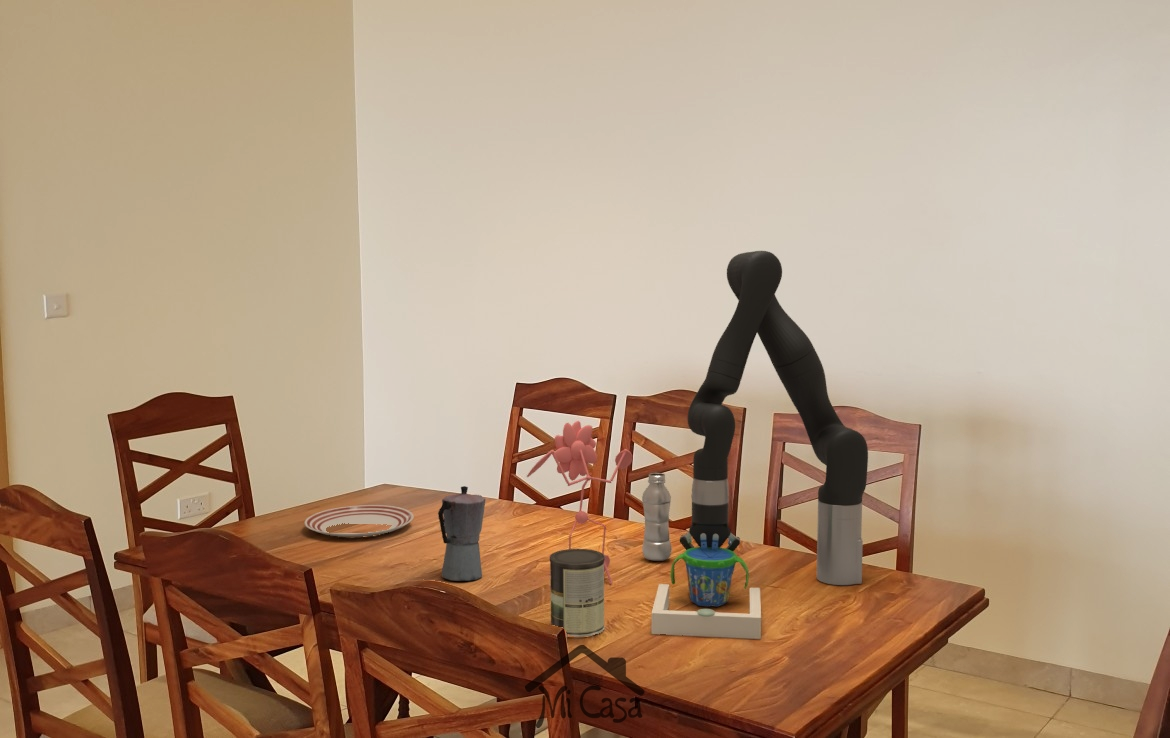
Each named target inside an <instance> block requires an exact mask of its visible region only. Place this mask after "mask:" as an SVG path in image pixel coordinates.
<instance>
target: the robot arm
mask: <svg viewBox="0 0 1170 738" xmlns="http://www.w3.org/2000/svg"><path fill="white" fill-rule="evenodd" d="M780 261H781V260H780V259H779V258H778V257H777V255H775V253H772V252H770V251H766V250H754V251H747V252H746V251H745V252H741V253H738V254H737V255H735V256H733V257H732V258H731V259H730V260H729V262H728V265H727V267H726V278H727V283H728V285H729V288H730V289H731V291H732V293H733V294H734V296H735V297H736V299H737V300H738V303H737V305H736V308H735V311H734V313H733V315H732V317H731V318H730V321H729V323H728V324H727V327H725V329H724V331H723V333H722V335H721V336H720V338H719V340H718V342H717V344H716V346H715V347H714V350H713V353H712V356H711V359H710V362H709V366H708V369H707V372H706V377H705V379H704V381H703V382H702V384H701V385H700V387H699V389H698V390H697V392H696V394H695V395H694V398H693V400H692V401H691V403H690V405H689V408H688V411H687V424H688V427H689V429H690V431H691V432H692V433H693V434H696V435H698V436H701V437H702V436H703V437H704V443H703V447H702V448H698V449H697V450H696V451H695V452H694V453H693V461H692V462H693V463H692V464H693V465H692V466H693V467H692V468H693V470H692V473H693V474H692V476H693V478H692V485H691V486H692V487H691V525H690V527H689V529H688V531H687V532H686V533H684V534H682V535H680V537H679V542H680V544H681V545H682V547H683V548H684V550H685V551H686V550H688V549H690V548H695V546H694V545H693V543H692V541H694V542H695V543H696V544H697V547H701V548H705V549H707V547H712V549H718V547H719V548H722V547H723V545H724V544H725V542H726V541H727V544H728V545H727V546H726V548H725V549H728V550H731V551H733V552H735V550H736V549H737V548H738V547H739V545H740V544H741V538H740V537H739V536H735V535H734V534H733V533H732V530H731V528H730V524H729V512H730V511H729V510H730V509H729V507H730V506H729V505H730V504H729V503H730V502H729V501H730V500H729V499H730V495H729V494H730V492H729V491H730V489H729V488H730V487H729V480H728V479H729V478H728V474H729V473H728V469H729V467H728V465H729V462H728V461H729V459H728V458H729V455H730V452H731V448H732V444H733V441H734V435H735V431H736V420H735V415H734V413H733V411H732V410H731V409H730V408H729V407H728V406H726V405H723V402H724V401H725V399H726V397H728V396H731V395H735V394H736V393H737V391H738V389H739V387H740V385H741V381H742V378H743V375H744V371H745V368H746V365H747V362H748V358H749V355H750V352H751V349H752V346H753V343H754V342H755V339H756V336H757V335H758V337H759V339H760V341H761V343H762V345H763V348H764V349H765V351H766V353H767V355H768V357H769V360H770V361H771V364H772V366H773V369H774V370H775V372H776V374H777V376H778V377H779V380H780V381H781V384H782V385H783V387H784V389H785V390H786V392H787V395H788V396H789V398H790V401H791V402H792V404H793V406H794V408H795V409H796V411H797V412H798V414H799V416H800V419H801V420H802V423H803V426H804V428H805V431H806V434H807V436H808V439H809V442H810V445H811V448H812V451H813V452H814V454H815V456H816V458H817V459H818V460H819V461H820V462H821V463H822V464H824V465H825V466H826V469H825V470H826V471H825V482H824V483H823V484H822V485H820V486H819V487H818V490H817V491H818V492H817V527H816V528H817V529H816V530H817V531H816V532H817V536H816V537H817V538H816V544H817V545H816V579H817V580H818V581H820V582H821V583H824V584H828V585H832V586H833V585H834V586H853V585H858V584H859V585H861V584H862V583H863V582H862V581H863V544H864V543H863V538H862V527H863V524H862V522H863V519H862V518H863V496H864V493H865V492H866V491H865V490H866V487H867V483H868V482H867V480H868V479H867V478H868V467H869V465H868V464H869V448H868V444H867V441H866V439H865V436H863V434H862V433H860V432H858V431H857V430H855V429H852V428H849V427H847V426H846V425H844V424H843V422H842V420H841V419H840V418H839V415H838V414H837V412H836V410H835V409H834V407H833V405H832V403H831V401H830V398H829V393H828V387H827V379H826V374H825V370H824V366H823V364H822V360H821V359H820V357H819V355H818V353H817V351H816V349H815V346H814V345H813V343H812V341H811V340H810V338H809V337H808V335H807V334H806V333H805V332H804V330H802V329H801V327H800V325H798V324H797V323H796V321H794V320H793V318H792V317H790V315H789V314H788V313H787V312H786V311H785V309H783V307H782V305H781V304H780V302H779V300H778V298H777V296H776V292H777V290H778V288H779V286H780V283H781V282H782V281H781V280H782V278H783V267H782V262H780ZM727 539H728V540H727Z"/></svg>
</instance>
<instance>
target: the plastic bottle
mask: <svg viewBox="0 0 1170 738" xmlns="http://www.w3.org/2000/svg"><path fill="white" fill-rule="evenodd" d="M647 483H649V484H648V486H647V487H646V488H645V490H644V491H643V493H642V496H641V500H642V507H643V513H644V514H643V516H644V536H643V542H642V555H643V556H644V558H645V559H646V560H649V561H653V562H654V561H655V562H662V561H667V560H669V558H670V557H671V554H672V543H671V539H670V529H669V520H670V519H669V518H670V509H671V508H670V507H671V502H672V501H671V499H672V496H671V494H670V491H669V490H668V488H667V486H666V485H665V483H666V474H665V473H662V472H651V473H649V474H648V480H647Z"/></svg>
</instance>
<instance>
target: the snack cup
mask: <svg viewBox="0 0 1170 738" xmlns="http://www.w3.org/2000/svg"><path fill="white" fill-rule="evenodd" d="M679 560H683V561H684V563H685V569H686V576H687V583H688V589H689V597H690V601H692V603H694V604H695V605H697V606H699V607H717V608H718V607H720V606H724V605H725V604H727V603H728V601H729V596H730V590H731V585H732V578H733V574H734V571H735V567H736V564H737V563H740V564H741V567H742V568H743V570H744V571H745V583H744V590H747V587H748V584H749V577H750V575H749V574H750V573H749V568H748V565H747V564H746V562H745V561H744V559H742V558H741V557H739V556H738V555H737V554H736V552H735V551H731V550H728V549H726V548H723V547H720V548H719V547H718V549H712V547H707V549H705V548H701V547H700V546H697V547H695V546H694V548H690V549H688V550H686V549H685V550H684V552H682V553H680V554H678V556H676V557H675V558H674V560H673V562H672V564H671V566H670V567H671V568H670V581H671V584H672V585H675V584H676V577H675V575H676V574H675V565H676V563H677V562H678V561H679Z"/></svg>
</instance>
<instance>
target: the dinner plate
mask: <svg viewBox="0 0 1170 738" xmlns="http://www.w3.org/2000/svg"><path fill="white" fill-rule="evenodd" d="M414 517H415V516H414V514H413V512H411V511H410V510H409V509H406V508H403V507H399V506H393V505H383V504H364V505H363V504H362V505H349V506H341V507H336V508H329V509H325V510H322V511H320V512H319V511H318V512H316V513H313V514H312V515H310V516H308V517H307V518H306V519H305V521H304V526H305V527H306V528H307V529H309V530H311V531H313V532H316V533H318V534H319V533H320V534H323V535H326V536H329V535H330V537H333V536H338V537H337V538H339V537H363V536H373V535H379V534H383V535H385V534H384V533H387V534H389V533H391V532H394V531H396V530H399V529H402V528H404V527H405V526H407V525H408V524H410V523H411V522H412V521H413V519H414ZM342 523H343V524H344V523H345V524H348V523H349V524H376V525H377V524H381V525H383V524H387V525H392V526H391V527H390V528H389V529H387V530H382V531H376V532H368V533H329V532H327V531H326V528H327V527H329V526H330V527H331V526H332V525H333V526H334V525H335V526H336V525H337V524H338V525H339V524H340V525H341V524H342ZM387 525H386V526H387ZM388 532H389V533H388ZM379 536H380V535H379ZM373 537H374V536H373Z"/></svg>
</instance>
